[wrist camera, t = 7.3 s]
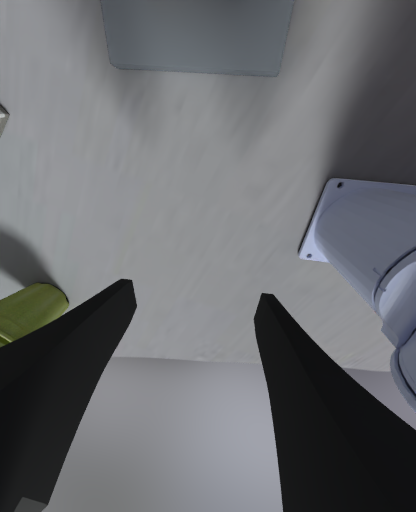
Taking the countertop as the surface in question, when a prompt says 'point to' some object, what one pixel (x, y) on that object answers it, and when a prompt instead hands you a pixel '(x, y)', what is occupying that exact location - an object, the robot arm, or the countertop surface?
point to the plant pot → (29, 311)
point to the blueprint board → (198, 35)
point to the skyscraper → (3, 119)
